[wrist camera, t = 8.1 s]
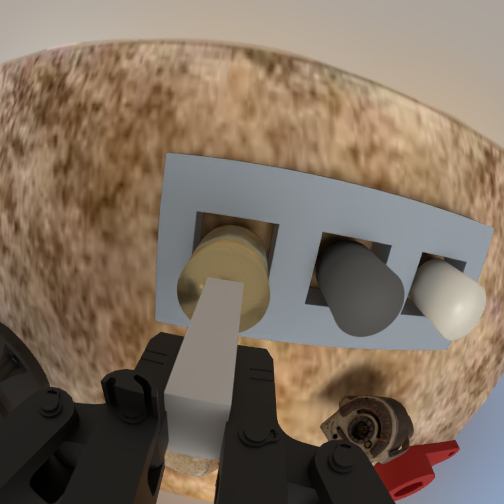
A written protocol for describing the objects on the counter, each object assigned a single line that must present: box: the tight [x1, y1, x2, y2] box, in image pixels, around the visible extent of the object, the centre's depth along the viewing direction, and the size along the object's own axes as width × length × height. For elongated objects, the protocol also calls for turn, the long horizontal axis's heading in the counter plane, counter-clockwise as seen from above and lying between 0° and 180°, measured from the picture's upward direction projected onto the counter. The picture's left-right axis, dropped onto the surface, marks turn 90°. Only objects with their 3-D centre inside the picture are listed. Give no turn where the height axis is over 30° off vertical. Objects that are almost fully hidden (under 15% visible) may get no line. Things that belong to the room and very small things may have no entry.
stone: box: [164, 446, 219, 477], centre depth 27 cm, size 8×10×4 cm
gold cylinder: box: [177, 225, 270, 333], centre depth 16 cm, size 4×4×5 cm
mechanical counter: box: [320, 395, 414, 464], centre depth 22 cm, size 7×13×10 cm, turn 68°
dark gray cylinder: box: [316, 241, 405, 337], centre depth 17 cm, size 4×4×5 cm
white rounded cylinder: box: [409, 258, 486, 340], centre depth 17 cm, size 4×4×5 cm
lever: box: [374, 440, 460, 501], centre depth 30 cm, size 18×9×7 cm, turn 86°
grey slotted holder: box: [155, 153, 494, 350], centre depth 20 cm, size 26×12×3 cm, turn 81°
